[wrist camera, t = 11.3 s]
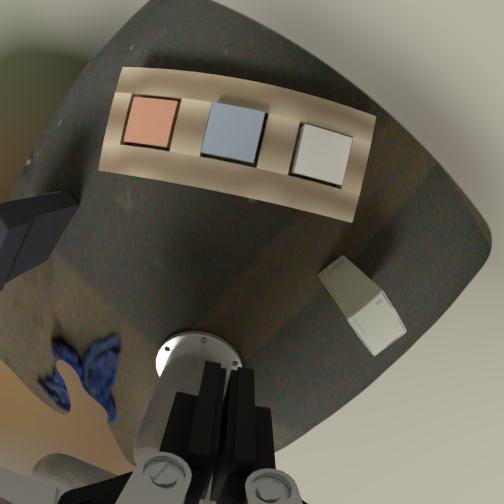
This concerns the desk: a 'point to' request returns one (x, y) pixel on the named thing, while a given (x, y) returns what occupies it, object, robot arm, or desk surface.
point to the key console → (229, 170)
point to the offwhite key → (321, 154)
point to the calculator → (31, 231)
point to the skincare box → (363, 305)
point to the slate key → (233, 132)
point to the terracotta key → (152, 122)
